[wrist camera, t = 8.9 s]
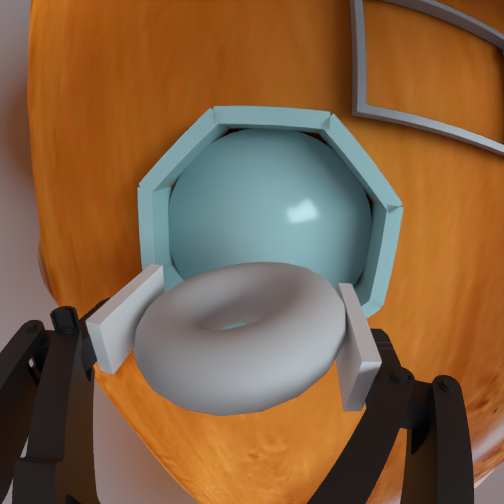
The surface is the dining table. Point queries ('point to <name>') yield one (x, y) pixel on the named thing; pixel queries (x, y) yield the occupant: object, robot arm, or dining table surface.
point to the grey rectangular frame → (425, 4)
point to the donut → (240, 337)
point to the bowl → (270, 201)
